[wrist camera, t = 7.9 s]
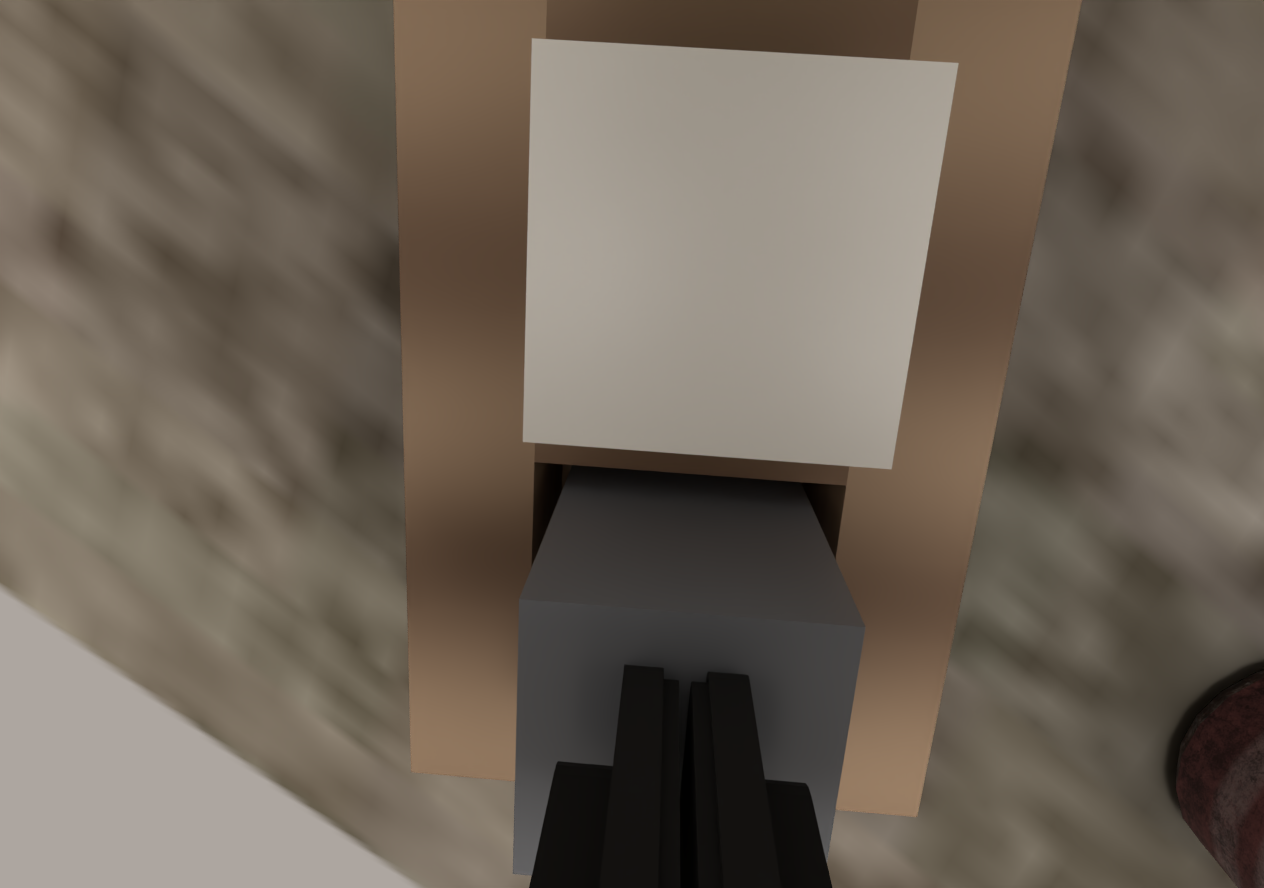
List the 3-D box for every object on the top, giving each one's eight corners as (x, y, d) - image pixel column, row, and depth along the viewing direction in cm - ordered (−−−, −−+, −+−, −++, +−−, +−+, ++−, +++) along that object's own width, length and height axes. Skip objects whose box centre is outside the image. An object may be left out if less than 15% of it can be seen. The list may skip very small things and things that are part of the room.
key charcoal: (581, 442, 17) (519, 599, 10) (789, 457, 17) (865, 627, 10) (573, 626, 18) (513, 873, 12) (766, 642, 18) (820, 902, 11)
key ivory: (595, 111, 15) (532, 39, 8) (832, 125, 15) (958, 62, 8) (585, 343, 16) (522, 442, 10) (802, 358, 16) (891, 469, 9)
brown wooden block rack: (475, -375, 15) (378, -657, 10) (1030, -353, 14) (1209, -633, 9) (472, 640, 21) (411, 772, 16) (860, 672, 20) (916, 816, 16)
